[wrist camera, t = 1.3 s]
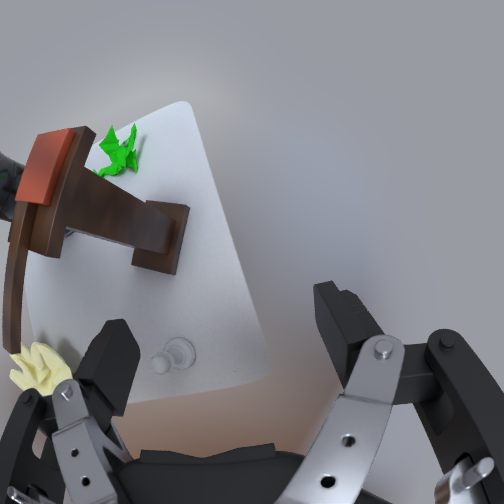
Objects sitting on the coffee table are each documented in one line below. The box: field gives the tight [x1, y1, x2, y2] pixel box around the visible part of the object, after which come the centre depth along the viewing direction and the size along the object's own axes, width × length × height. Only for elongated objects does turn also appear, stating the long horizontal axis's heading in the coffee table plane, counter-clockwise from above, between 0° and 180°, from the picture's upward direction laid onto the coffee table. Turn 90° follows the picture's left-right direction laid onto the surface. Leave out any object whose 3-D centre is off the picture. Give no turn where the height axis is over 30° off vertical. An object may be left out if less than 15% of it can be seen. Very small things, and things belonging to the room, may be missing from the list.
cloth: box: [10, 341, 73, 396], centre depth 37 cm, size 22×19×6 cm
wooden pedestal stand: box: [8, 126, 190, 275], centre depth 27 cm, size 10×7×24 cm
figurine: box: [93, 123, 137, 177], centre depth 40 cm, size 6×12×9 cm
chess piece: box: [150, 338, 195, 375], centre depth 32 cm, size 5×5×8 cm
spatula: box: [2, 128, 75, 355], centre depth 15 cm, size 18×5×1 cm, turn 169°
